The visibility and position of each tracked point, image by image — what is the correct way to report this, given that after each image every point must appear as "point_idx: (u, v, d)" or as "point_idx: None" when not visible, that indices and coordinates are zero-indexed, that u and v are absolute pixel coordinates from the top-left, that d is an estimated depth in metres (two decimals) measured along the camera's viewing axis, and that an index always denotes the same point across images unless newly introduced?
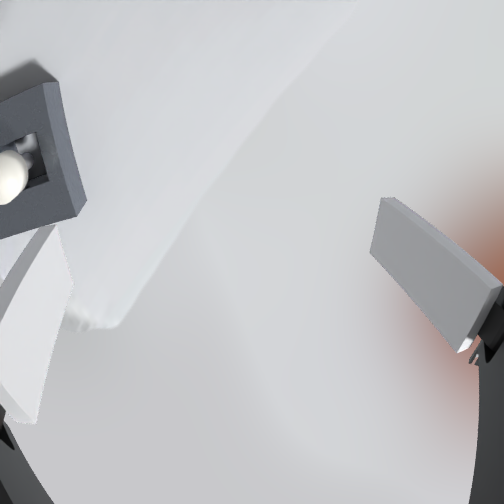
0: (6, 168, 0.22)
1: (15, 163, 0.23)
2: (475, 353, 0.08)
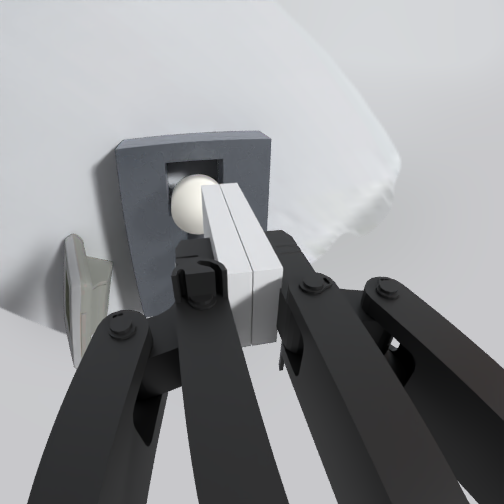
0: (188, 195, 0.27)
1: (186, 183, 0.27)
2: (281, 359, 0.09)
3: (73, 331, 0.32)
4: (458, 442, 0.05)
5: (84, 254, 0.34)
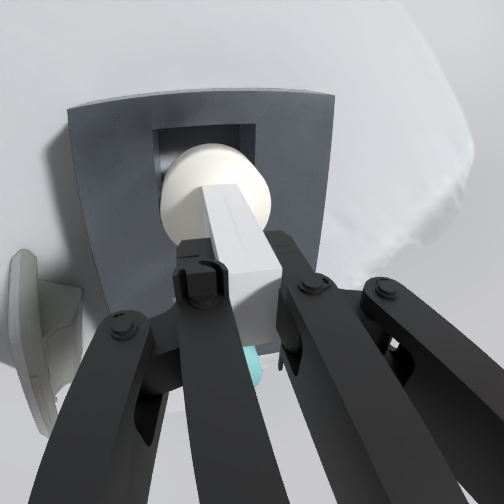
0: (194, 180, 0.13)
1: (191, 158, 0.13)
2: (280, 359, 0.09)
3: (26, 396, 0.18)
4: (458, 442, 0.05)
5: (34, 282, 0.20)
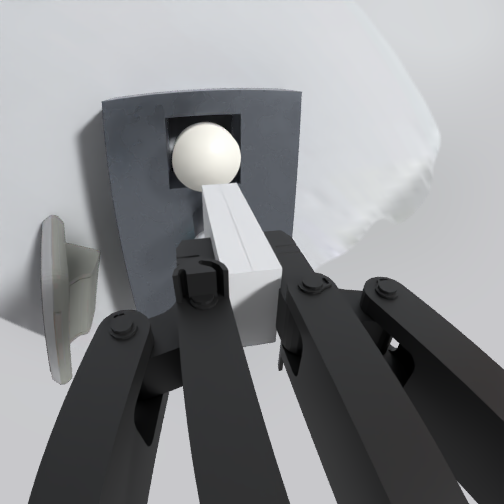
0: (193, 141, 0.21)
1: (192, 128, 0.21)
2: (280, 359, 0.09)
3: (47, 335, 0.24)
4: (457, 442, 0.05)
5: (63, 238, 0.26)
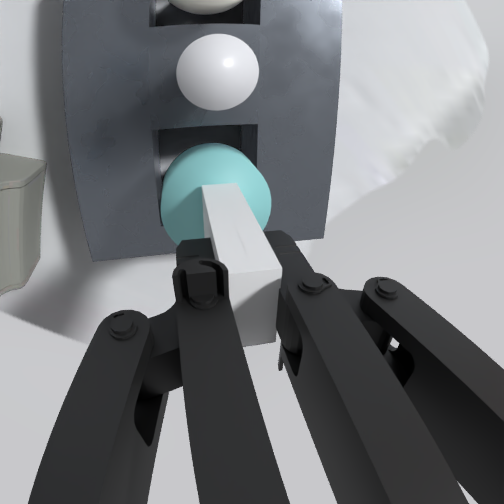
0: None
1: None
2: (280, 359, 0.09)
3: None
4: (457, 442, 0.05)
5: None
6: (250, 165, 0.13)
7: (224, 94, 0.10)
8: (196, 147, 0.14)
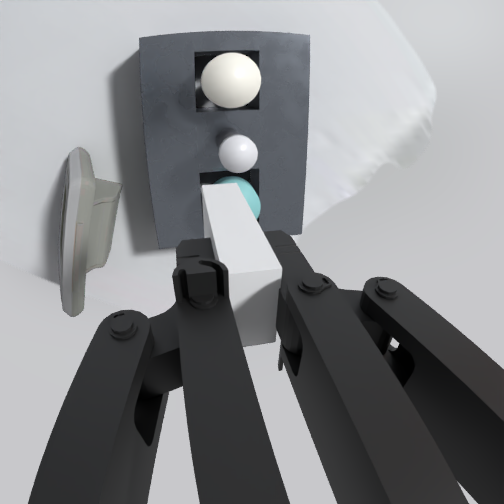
0: (220, 64, 0.23)
1: (219, 55, 0.23)
2: (280, 359, 0.09)
3: (64, 252, 0.26)
4: (457, 442, 0.05)
5: (90, 162, 0.28)
6: (250, 188, 0.29)
7: (242, 165, 0.25)
8: (224, 178, 0.30)
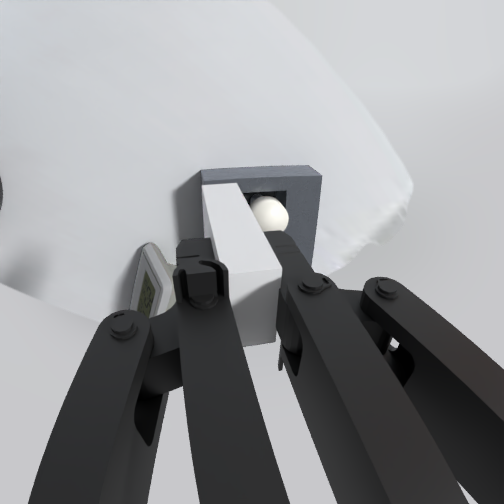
0: (263, 211, 0.40)
1: (262, 203, 0.40)
2: (280, 359, 0.09)
3: None
4: (457, 442, 0.05)
5: (165, 260, 0.44)
6: None
7: None
8: None
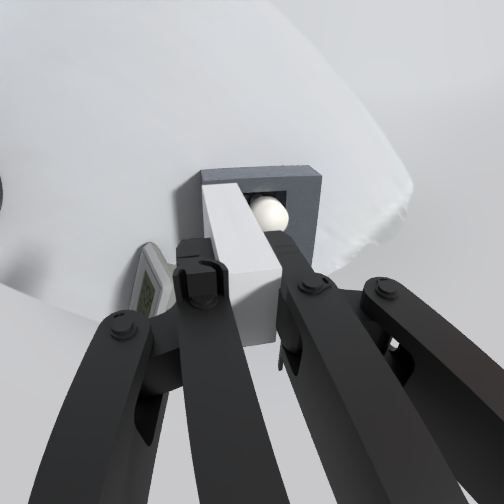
0: (263, 211, 0.40)
1: (262, 203, 0.40)
2: (280, 359, 0.09)
3: None
4: (457, 442, 0.05)
5: (165, 260, 0.44)
6: None
7: None
8: None
